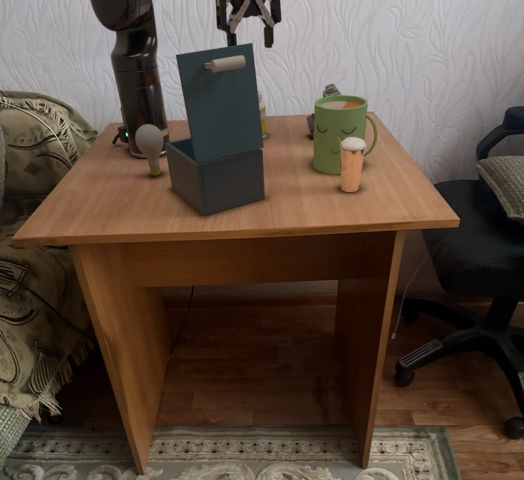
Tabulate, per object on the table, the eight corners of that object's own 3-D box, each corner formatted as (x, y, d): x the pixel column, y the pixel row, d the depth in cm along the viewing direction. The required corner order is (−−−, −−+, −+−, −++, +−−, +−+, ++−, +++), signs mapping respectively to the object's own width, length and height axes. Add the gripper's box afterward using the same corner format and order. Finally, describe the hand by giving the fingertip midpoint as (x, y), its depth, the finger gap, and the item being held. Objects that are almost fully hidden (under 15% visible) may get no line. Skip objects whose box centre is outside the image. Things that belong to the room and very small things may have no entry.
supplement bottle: (270, 134, 118) (269, 91, 112) (259, 141, 115) (257, 96, 108) (251, 132, 120) (249, 89, 114) (240, 138, 117) (236, 94, 111)
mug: (307, 172, 99) (308, 108, 91) (319, 154, 106) (321, 94, 99) (369, 177, 96) (376, 112, 88) (378, 158, 103) (384, 96, 95)
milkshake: (329, 187, 93) (332, 132, 86) (354, 182, 94) (359, 128, 88) (340, 196, 90) (344, 140, 83) (366, 191, 91) (372, 135, 84)
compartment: (172, 189, 96) (164, 142, 90) (229, 174, 100) (224, 129, 95) (203, 216, 86) (196, 166, 80) (264, 198, 91) (262, 150, 85)
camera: (309, 132, 123) (298, 91, 117) (342, 120, 122) (333, 77, 115) (317, 154, 111) (306, 109, 105) (354, 141, 110) (345, 95, 103)
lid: (175, 54, 72) (188, 54, 68) (250, 43, 76) (266, 41, 72) (195, 163, 80) (207, 168, 77) (261, 147, 85) (276, 150, 81)
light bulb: (173, 171, 103) (165, 121, 96) (162, 181, 99) (153, 129, 92) (150, 169, 104) (140, 120, 98) (138, 179, 100) (127, 128, 94)
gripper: (267, -49, 100) (270, 43, 111) (204, -43, 95) (214, 53, 106) (286, -49, 95) (288, 48, 106) (221, -43, 90) (229, 58, 101)
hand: (251, 50), depth 106 cm, fingers open, 8 cm apart
